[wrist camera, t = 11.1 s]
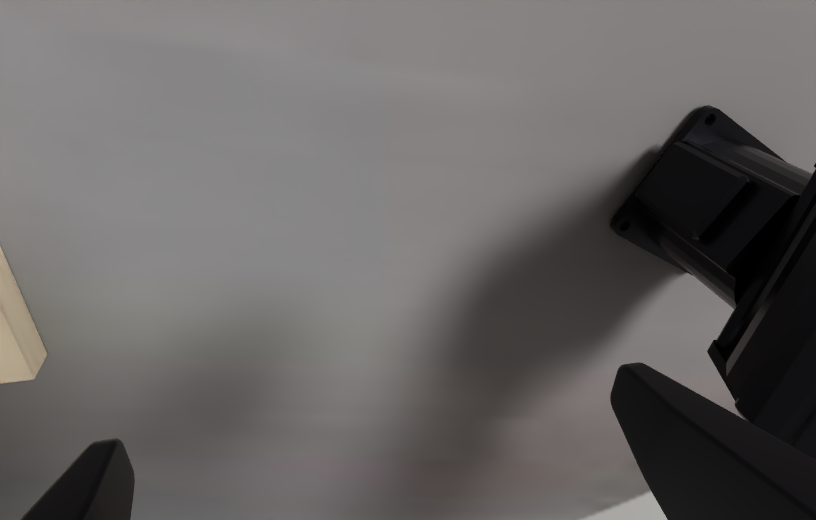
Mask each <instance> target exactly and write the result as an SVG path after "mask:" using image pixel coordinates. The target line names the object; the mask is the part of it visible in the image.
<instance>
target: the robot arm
mask: <svg viewBox="0 0 816 520" xmlns="http://www.w3.org/2000/svg"><path fill="white" fill-rule="evenodd" d="M708 115H709V118H708V120H707V121H706V122H705V119H706V117H707V116H708ZM814 167H815V168H816V163H815V165H814ZM623 222H625V224H624V225H623V226H621V227H620V225H621V224H622V223H623ZM610 226H611V229H612V230H613V231H614V232H615V233H616V234H618V235H619V236H621V237H623V238H625V239H627V240H628V241H630V242H632V243H634V244H636V245H638V246H639V247H641V248H643V249H645V250H647V251H649V252H650V253H652V254H654V255H656V256H658V257H660V258H661V259H663V260H665V261H667V262H669V263H671V264H673V265H674V266H676V267H678V268H680V269H682V270H684V271H685V272H687V273H689V274H691V275H693V276H695V277H696V278H697V279H698V280H700V281H701V282H702V283H703V284H704V285H706V286H707V287H708V288H709V289H710V290H712V291H713V292H714V293H715V294H717V295H718V296H719V297H720V298H721V299H723V300H724V301H725V302H726V303H727V304H729V305H730V306H731V307H732V308H734V311H733V313H732V314H731V316H730V318H729V320H728V321H727V323H726V325H725V326H724V328H723V330H722V332H721V333H720V335H719V337H718V338H717V340H713V342H712V344H711V345H710V347H709V349H708V351H707V352H708V354H709V356H710V358H711V359H712V361H713V363H714V365H715V366H716V368H717V370H718V372H719V373H720V375H721V377H722V379H723V380H724V382H725V384H726V386H727V387H728V389H729V391H730V393H731V394H732V396H733V398H734V400H735V401H736V402H735V407H736V409H737V410H738V412H739V414H740V415H741V416H742V417H743V418H744V419H745V420H744V419H742V418H741V417H739V416H737V415H735V414H733V413H732V412H730V411H728V410H726V409H724V408H723V407H721V406H719V405H717V404H715V403H714V402H712V401H710V400H708V399H706V398H705V397H703V396H701V395H699V394H698V393H696V392H694V391H692V390H690V389H689V388H687V387H685V386H683V385H681V384H680V383H678V382H676V381H674V380H672V379H671V378H669V377H667V376H665V375H663V374H662V373H660V372H658V371H656V370H654V369H653V368H651V367H649V366H647V365H645V364H643V363H631V364H624V365H621V366H620V367H619V368H618V371H617V374H616V378H615V381H614V384H613V388H612V391H611V397H610V400H611V405H612V408H613V410H614V413H615V415H616V417H617V419H618V422H619V424H620V426H621V428H622V430H623V433H624V435H625V437H626V439H627V442H628V444H629V446H630V448H631V451H632V453H633V455H634V457H635V459H636V462H637V464H638V466H639V468H640V470H641V472H642V474H643V476H644V478H645V480H646V482H647V484H648V486H649V488H650V489H651V491H652V493H653V495H654V496H655V498H656V500H657V502H658V503H659V505H660V507H661V509H662V510H663V512H664V514H665V515H666V517H667V519H668V520H816V170H815V171H814V173H813V174H811V173H809V172H807V171H805V170H802V169H800V168H798V167H796V166H793V165H791V164H789V163H787V162H786V161H784V160H783V159H782V158H780V157H779V156H778V155H777V154H775V153H774V152H773V151H771V150H770V149H769V148H768V147H766V146H765V145H764V144H763V143H761V142H760V141H759V140H757V139H756V138H755V137H754V136H752V135H751V134H750V133H748V132H747V131H746V130H745V129H743V128H742V127H741V126H740V125H738V124H737V123H736V122H734V121H733V120H732V119H731V118H729V117H728V116H727V115H725V114H724V113H723V112H722V111H720V110H719V109H717V108H714V107H712V106H709V105H708V106H703V107H702V108H700V109H699V110H698V111H697V112H696V113H695V115H694V116H693V117H692V118H691V120H690V121H689V122H688V123H687V125H686V126H685V127H684V129H683V130H682V131H681V132H680V134H679V135H678V136H677V137H676V139H675V140H674V141H673V142H672V144H671V145H670V146H669V148H668V149H667V150H666V151H665V153H664V154H663V155H662V156H661V158H660V159H659V160H658V162H657V163H656V164H655V165H654V167H653V168H652V169H651V170H650V172H649V173H648V174H647V176H646V177H645V178H644V179H643V181H642V182H641V183H640V184H639V186H638V187H637V188H636V189H635V191H634V192H633V193H632V195H631V196H630V197H629V198H628V200H627V201H626V202H625V203H624V205H623V206H622V207H621V209H620V210H619V211H618V212H617V214H616V215H615V216H614V217H613V219H612V221H611V224H610ZM134 482H135V478H134V471H133V468H132V465H131V463H130V460H129V457H128V455H127V452H126V450H125V447H124V445H123V443H122V441H121V440H119V439H109V440H102V441H96V442H93V443H92V444H90V445H89V446H88V447H87V448H86V449H85V450H84V451H83V452H82V453H81V454H80V455H79V456H78V458H77V459H76V460H75V461H74V462H73V463H72V464H71V465H70V466H69V467H68V468H67V470H66V471H65V472H64V473H63V474H62V475H61V476H60V477H59V478H58V479H57V480H56V481H55V483H54V484H53V485H52V486H51V487H50V488H49V489H48V490H47V491H46V492H45V493H44V495H43V496H42V497H41V498H40V499H39V500H38V501H37V502H36V503H35V504H34V505H33V506H32V508H31V509H30V510H29V511H28V512H27V513H26V514H25V515H24V516H23V517H22V518H21V520H130V518H131V510H132V501H133V492H134Z"/></svg>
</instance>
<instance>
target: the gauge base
mask: <svg viewBox="0 0 816 520" xmlns="http://www.w3.org/2000/svg"><path fill="white" fill-rule="evenodd" d="M46 356H47V352H46V350H45V348H44V345H43V343H42V341H41V338H40V336H39V334H38V331H37V329H36V327H35V325H34V322H33V320H32V318H31V315H30V313H29V311H28V309H27V306H26V304H25V302H24V299H23V297H22V295H21V293H20V290H19V288H18V286H17V283H16V281H15V279H14V276H13V274H12V272H11V270H10V267H9V265H8V263H7V260H6V258H5V256H4V254H3V251H2V249H1V247H0V384H2V383H10V382H18V381H26V380H34V379H35V377H36V375H37V373H38V371H39V369H40V367H41V366H42V364H43V362H44V360H45V358H46Z"/></svg>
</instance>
